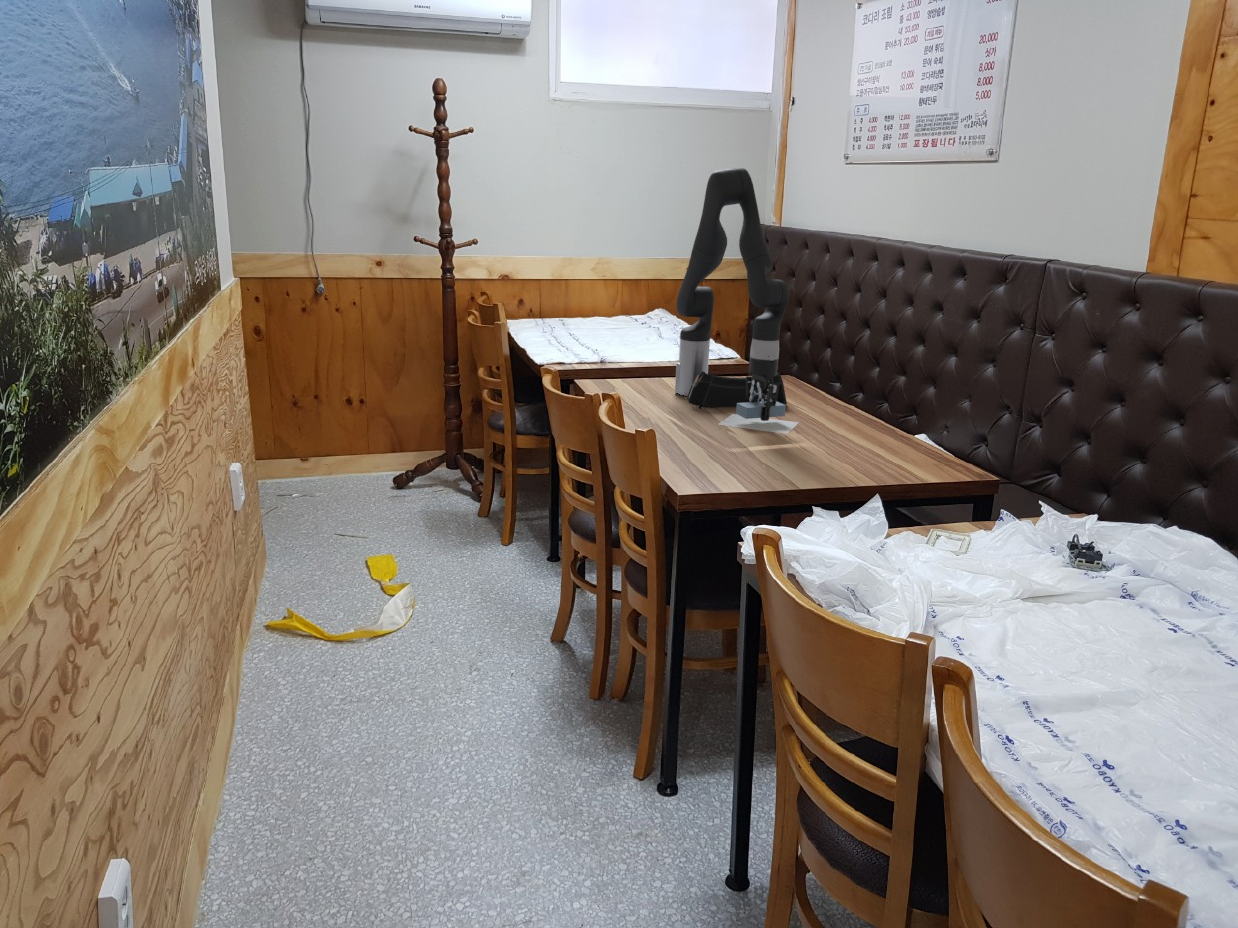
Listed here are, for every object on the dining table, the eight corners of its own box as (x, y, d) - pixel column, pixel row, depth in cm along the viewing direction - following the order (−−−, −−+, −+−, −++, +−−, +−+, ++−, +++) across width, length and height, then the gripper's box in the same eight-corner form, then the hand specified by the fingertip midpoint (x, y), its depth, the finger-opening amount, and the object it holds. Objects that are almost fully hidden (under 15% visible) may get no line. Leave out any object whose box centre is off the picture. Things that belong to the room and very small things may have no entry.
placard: (784, 416, 240) (745, 419, 236) (774, 412, 245) (735, 414, 241) (785, 405, 239) (746, 407, 235) (775, 400, 244) (736, 403, 240)
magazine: (792, 376, 265) (703, 348, 255) (797, 378, 262) (707, 350, 252) (772, 429, 268) (683, 404, 259) (776, 432, 265) (687, 406, 256)
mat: (717, 427, 238) (717, 424, 238) (732, 416, 251) (732, 413, 250) (786, 436, 231) (787, 433, 231) (798, 425, 244) (799, 422, 243)
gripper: (738, 351, 240) (734, 412, 245) (765, 361, 228) (760, 425, 233) (762, 351, 243) (757, 411, 248) (790, 360, 230) (785, 423, 235)
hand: (759, 417), depth 240 cm, fingers closed on placard, 5 cm apart
